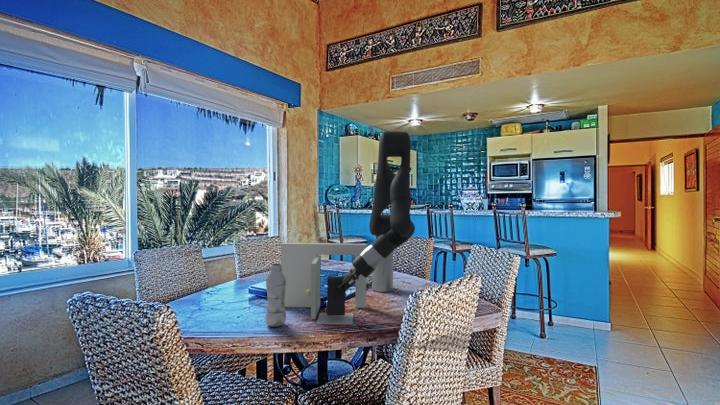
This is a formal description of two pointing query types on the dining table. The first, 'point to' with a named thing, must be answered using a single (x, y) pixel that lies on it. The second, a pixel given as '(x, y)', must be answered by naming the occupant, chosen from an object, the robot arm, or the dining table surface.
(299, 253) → the door frame
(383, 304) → the dining table surface
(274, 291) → the plastic bottle
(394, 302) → the dining table surface
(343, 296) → the black rectangular block
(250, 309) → the dining table surface
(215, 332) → the dining table surface
